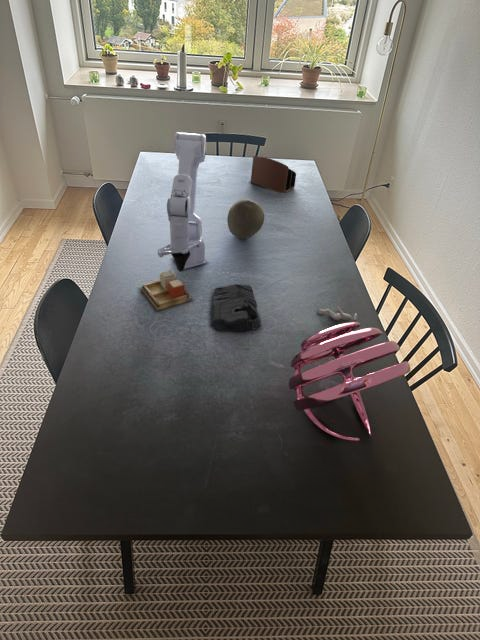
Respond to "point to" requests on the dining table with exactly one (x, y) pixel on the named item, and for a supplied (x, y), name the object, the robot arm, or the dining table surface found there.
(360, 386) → the pink slatted stand
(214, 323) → the dark slate chunk
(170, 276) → the cream panelled block
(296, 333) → the dining table surface
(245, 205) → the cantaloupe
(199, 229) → the robot arm
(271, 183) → the letter holder
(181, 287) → the red block with panel
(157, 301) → the divided wooden tray
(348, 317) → the soldier figure
